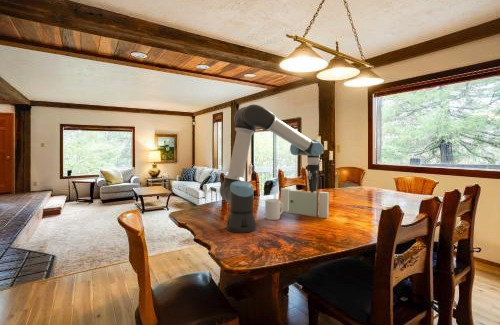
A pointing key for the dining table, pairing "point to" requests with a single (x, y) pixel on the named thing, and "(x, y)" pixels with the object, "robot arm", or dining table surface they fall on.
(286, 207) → the wall frame
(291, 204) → the door
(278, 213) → the mug
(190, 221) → the dining table surface
